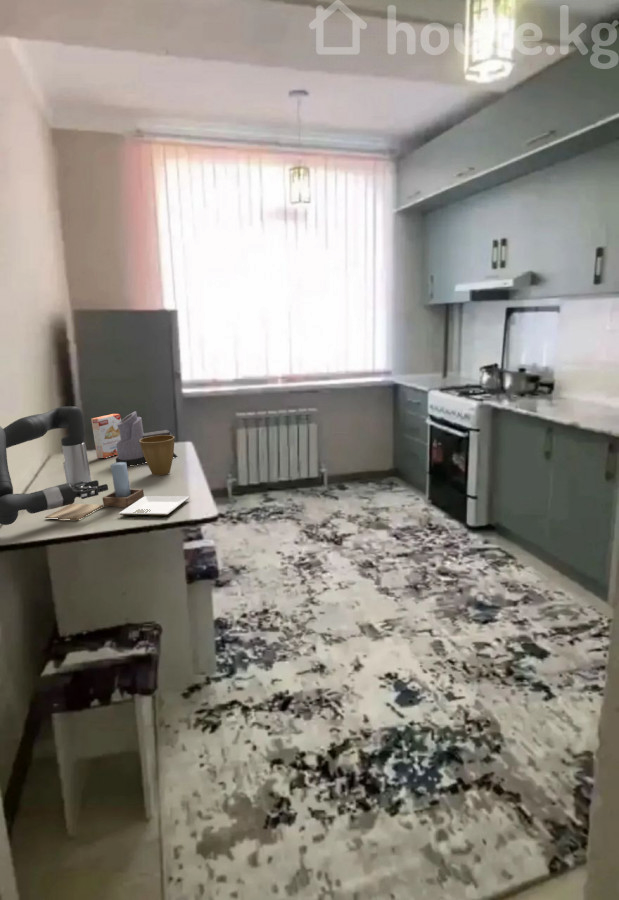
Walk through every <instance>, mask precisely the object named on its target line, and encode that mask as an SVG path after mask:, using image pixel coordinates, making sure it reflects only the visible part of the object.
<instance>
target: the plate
mask: <svg viewBox="0 0 619 900" xmlns="http://www.w3.org/2000/svg"><path fill="white" fill-rule="evenodd" d="M190 498H191V497H190V496H189V495H144V497H142V498H141V499H139V500H138V501H136V502H135V503H133V504H132V505H130V506H129V507H125V508H124V509H122V511H120V512H118V514H119V515H120V516H129V515H149V516H148V517H150V516H151V517H152V516H153V517H157V516H158V517H165V516H168V515H169V514H170V513H172V512H173V511H174V510H176V509H177V508H178V507H180V506H181V505H183V504H184V503H185V502H186V501H187V500H189V499H190ZM138 509H140V510H141V509H143V510H144V509H145V510H146V509H148V510H149V509H150V510H151V511H150V510H149V511H150V512H149V511H148V512H147V513H145V512H146V511H147V510H146V511H145V510H144V511H145V512H144V513H137V512H136V513H133V512H135V511H136V510H138Z"/></svg>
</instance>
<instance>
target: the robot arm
mask: <svg viewBox="0 0 619 900" xmlns="http://www.w3.org/2000/svg"><path fill="white" fill-rule="evenodd" d="M84 419H85V418H84V414H83V411H82V410H81V408H80V407H78V406H60V407H56V408H54V409H52V410H49V411H46V412H44V413H38V414H32V415H28V416H24V417H21V418H19V419H17V420H15V421H13V422H11V423H10V424H8V425H7V426H5V427H4V428H3V427H2V426H0V525H2V526H10V525H11V524H13V523H14V522H15V521H16V520H18V516H19V511H26V512H27V513H28V514H30V515H31V514H37V513H41V512H43V511H44V512H45V511H49V510H54V509H58V508H61V507H62V508H63V507H66V506H68V505H70V504H75V501H76V498H79V499H81V500H85V499H88V498H91V497H97V496H99V494H100V493H102V492H106V491H109V486H108V484H106V483H104V484H101V485H100V484H99V480H97V479H96V480H92V476H91V470H90V469H91V468H90V463H89V458H88V453H87V447H86V446H87V445H86V439H85V438H86V429H85V420H84ZM56 429H68V434H67V435H65V436H64V437H61V447H62V452H63V459H64V462H63V463H62V464H63V465H62V466H63V470H64V475H65V481H66V483H63V484H58V485H55V486H51V487H48V488H47V487H46V488H44V489H41V490H38V491H34V492H29V493H14V487H13V483H12V479H11V474H10V471H9V470H10V469H9V466H8V454H7V449H8V448H11V447H14V446H18V445H21V444H24V443H26V442H30V441H33V440H36V439H39V438H42V437H44V436H45V435H46V434H47V433H48V432H49V431H51V430H56Z"/></svg>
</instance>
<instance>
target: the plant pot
mask: <svg viewBox="0 0 619 900" xmlns="http://www.w3.org/2000/svg"><path fill="white" fill-rule="evenodd" d="M139 441H140V445H141V449H142V452H143V455H144V457H145V460H146V462H147V463H146V464H147V467H148V468H149V470H150V473H151V474H152V476H154V475H162V476H165V474H166V475H169V474H170V472H171V468H172V464H173V460H174V458H173V454H175V436H174V435H172V436H171V435H158V436H151V437H146V438H142V439H140V440H139ZM168 473H169V474H168Z"/></svg>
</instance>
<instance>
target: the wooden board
mask: <svg viewBox="0 0 619 900" xmlns="http://www.w3.org/2000/svg"><path fill="white" fill-rule="evenodd" d="M101 507H103V508H104V504H91V503H90V504H89V503H88V504H86V503H83V504H82V503H73V504H70V505H66V506H63V507H62V508H60V509H58V510H56V511H54V512H53V513H51V514H48V515H46V516H45V517H44V519H45V518H58V519H70V520H79V519H81V518H83V517H85V516H86V515H88V514H90V513H92V512H93V511H95V510H97V509H99V508H101ZM101 509H102V508H101ZM92 514H93V513H92ZM85 518H86V517H85ZM83 519H84V518H83Z"/></svg>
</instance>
